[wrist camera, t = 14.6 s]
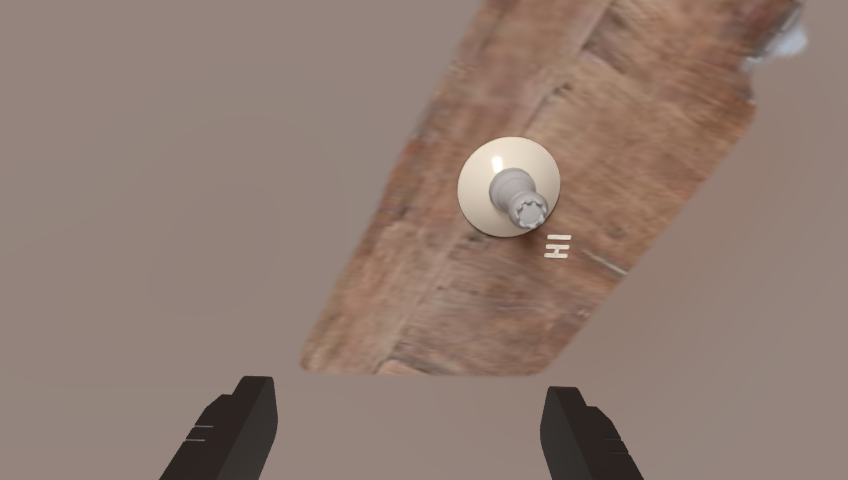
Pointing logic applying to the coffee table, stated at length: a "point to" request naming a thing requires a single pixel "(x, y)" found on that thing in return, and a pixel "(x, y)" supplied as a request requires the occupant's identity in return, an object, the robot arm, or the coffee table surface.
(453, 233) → the coffee table surface
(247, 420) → the robot arm
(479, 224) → the cream round disc
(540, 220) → the rook chess piece
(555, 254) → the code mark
